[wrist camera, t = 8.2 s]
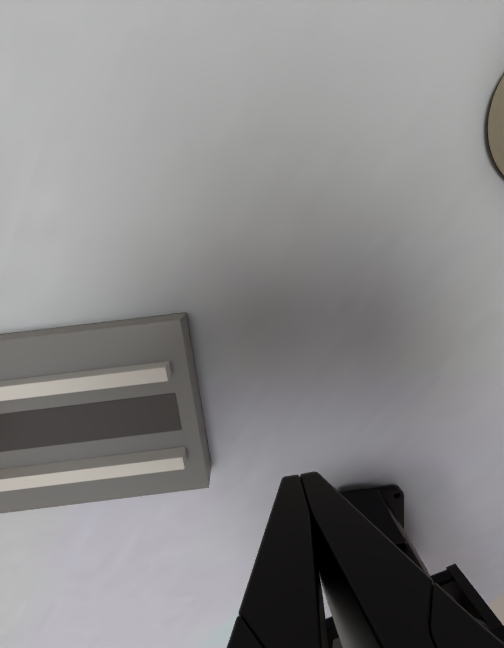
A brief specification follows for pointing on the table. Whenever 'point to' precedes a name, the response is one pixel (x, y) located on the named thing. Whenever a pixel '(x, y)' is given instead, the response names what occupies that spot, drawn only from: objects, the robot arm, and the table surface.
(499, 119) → the travel mug
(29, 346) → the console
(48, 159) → the table surface
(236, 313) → the table surface
